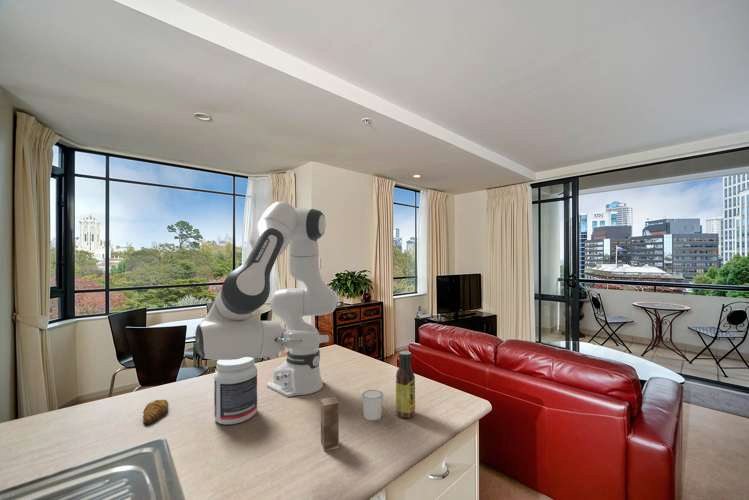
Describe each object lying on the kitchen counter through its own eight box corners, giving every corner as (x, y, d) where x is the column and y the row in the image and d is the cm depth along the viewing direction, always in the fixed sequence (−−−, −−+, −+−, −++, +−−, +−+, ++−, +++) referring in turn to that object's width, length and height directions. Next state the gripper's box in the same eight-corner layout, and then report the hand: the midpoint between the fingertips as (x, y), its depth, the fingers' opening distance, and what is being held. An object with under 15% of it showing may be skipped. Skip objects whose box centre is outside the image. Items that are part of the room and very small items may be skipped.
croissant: (152, 406, 106) (152, 392, 107) (175, 404, 108) (175, 390, 108) (133, 428, 93) (134, 411, 93) (159, 424, 95) (159, 408, 95)
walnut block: (324, 451, 82) (324, 405, 82) (320, 442, 86) (320, 399, 86) (338, 447, 83) (338, 402, 83) (334, 439, 87) (334, 396, 87)
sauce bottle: (414, 420, 97) (414, 356, 97) (394, 418, 98) (394, 355, 98) (415, 409, 103) (415, 350, 103) (397, 408, 104) (397, 349, 105)
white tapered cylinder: (385, 412, 102) (385, 391, 102) (379, 423, 95) (379, 400, 95) (366, 408, 104) (366, 388, 104) (358, 419, 98) (358, 397, 98)
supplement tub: (265, 410, 103) (265, 355, 103) (233, 431, 91) (233, 368, 92) (238, 403, 108) (238, 350, 109) (204, 421, 97) (204, 362, 97)
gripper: (285, 327, 70) (338, 326, 78) (258, 324, 86) (305, 324, 94) (283, 356, 68) (337, 353, 76) (256, 348, 84) (303, 346, 92)
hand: (319, 337), depth 85 cm, fingers open, 8 cm apart
